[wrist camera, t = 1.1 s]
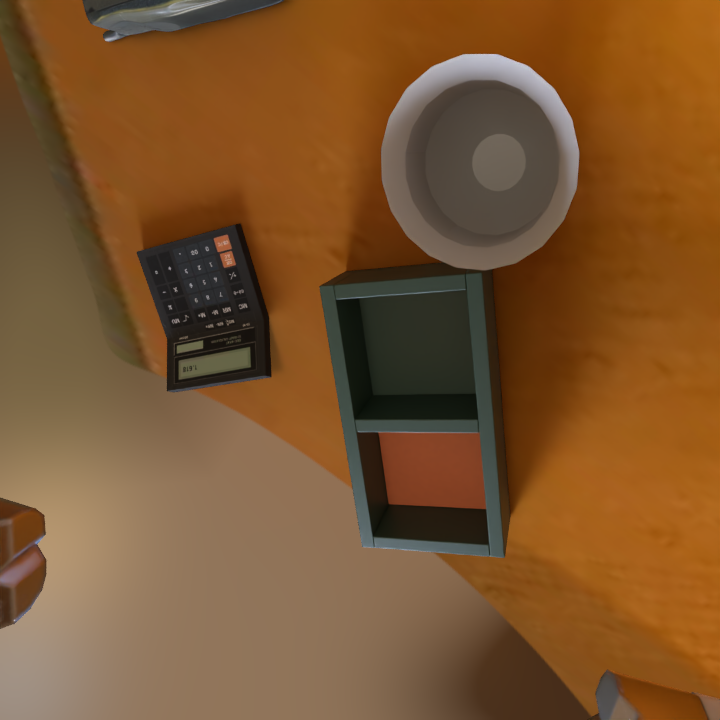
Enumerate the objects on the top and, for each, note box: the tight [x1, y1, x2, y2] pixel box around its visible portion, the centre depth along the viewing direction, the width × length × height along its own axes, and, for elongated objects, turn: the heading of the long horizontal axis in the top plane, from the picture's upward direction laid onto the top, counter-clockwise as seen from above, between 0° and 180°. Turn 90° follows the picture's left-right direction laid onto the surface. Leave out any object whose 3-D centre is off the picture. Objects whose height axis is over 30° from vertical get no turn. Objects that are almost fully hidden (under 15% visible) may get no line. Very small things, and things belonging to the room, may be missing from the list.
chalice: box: [381, 54, 579, 270], centre depth 28 cm, size 7×7×18 cm
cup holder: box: [320, 262, 510, 558], centre depth 41 cm, size 10×20×5 cm, turn 8°
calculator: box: [137, 224, 271, 392], centre depth 46 cm, size 9×12×3 cm
